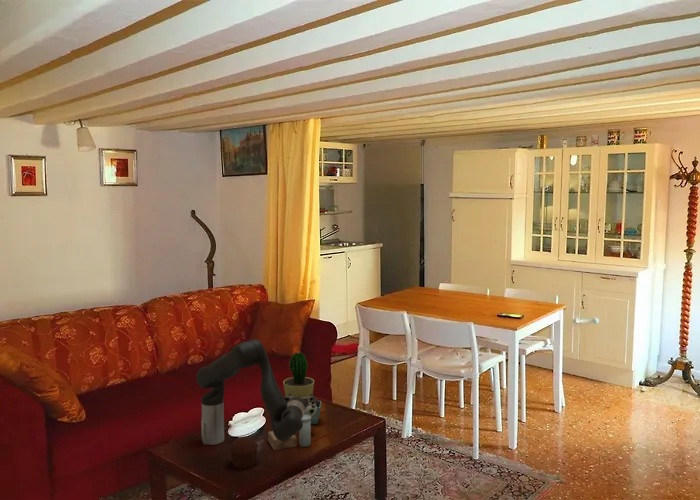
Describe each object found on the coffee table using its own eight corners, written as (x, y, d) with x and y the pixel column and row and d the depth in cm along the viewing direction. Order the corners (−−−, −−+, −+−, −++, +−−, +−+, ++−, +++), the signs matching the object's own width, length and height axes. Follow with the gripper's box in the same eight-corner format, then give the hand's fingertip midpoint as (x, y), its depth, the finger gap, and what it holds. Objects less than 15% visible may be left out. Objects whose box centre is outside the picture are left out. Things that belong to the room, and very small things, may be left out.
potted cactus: (319, 407, 294) (319, 348, 292) (306, 418, 280) (306, 356, 277) (292, 403, 300) (291, 346, 297) (277, 413, 285) (277, 353, 283)
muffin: (244, 454, 241) (243, 430, 240) (264, 460, 235) (263, 436, 234) (222, 465, 231) (222, 440, 230) (243, 472, 225) (242, 447, 224)
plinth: (273, 450, 244) (273, 440, 244) (268, 440, 254) (267, 431, 253) (296, 446, 248) (296, 436, 248) (290, 437, 257) (290, 428, 257)
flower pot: (320, 426, 270) (320, 407, 269) (301, 426, 270) (301, 407, 269) (321, 419, 279) (321, 400, 278) (303, 418, 279) (302, 400, 278)
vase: (300, 447, 247) (300, 420, 246) (297, 442, 252) (296, 415, 251) (313, 445, 249) (312, 418, 248) (309, 440, 254) (308, 413, 253)
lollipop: (304, 438, 257) (304, 404, 255) (298, 432, 263) (298, 399, 262) (319, 434, 260) (319, 402, 259) (313, 429, 266) (312, 397, 265)
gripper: (313, 400, 220) (318, 386, 236) (276, 400, 221) (283, 386, 237) (313, 419, 221) (318, 405, 237) (276, 419, 222) (283, 404, 238)
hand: (300, 395), depth 237 cm, fingers open, 8 cm apart
